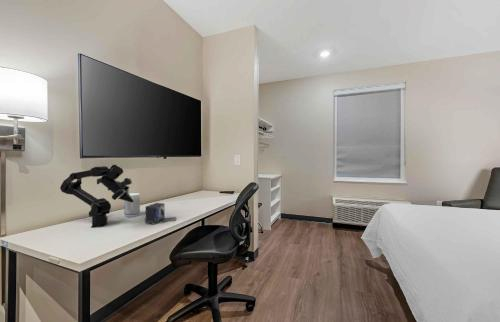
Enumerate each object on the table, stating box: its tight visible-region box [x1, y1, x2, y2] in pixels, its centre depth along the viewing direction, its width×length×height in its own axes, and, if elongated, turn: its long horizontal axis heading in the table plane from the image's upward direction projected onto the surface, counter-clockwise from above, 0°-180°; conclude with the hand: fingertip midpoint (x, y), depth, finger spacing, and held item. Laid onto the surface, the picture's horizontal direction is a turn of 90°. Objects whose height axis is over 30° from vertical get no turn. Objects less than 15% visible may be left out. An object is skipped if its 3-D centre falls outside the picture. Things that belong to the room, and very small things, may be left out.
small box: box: [144, 202, 166, 225], centre depth 127 cm, size 11×6×10 cm, turn 168°
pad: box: [161, 216, 177, 223], centre depth 132 cm, size 8×8×1 cm
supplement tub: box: [123, 192, 141, 218], centre depth 140 cm, size 10×10×15 cm
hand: (132, 201), depth 123 cm, fingers closed
